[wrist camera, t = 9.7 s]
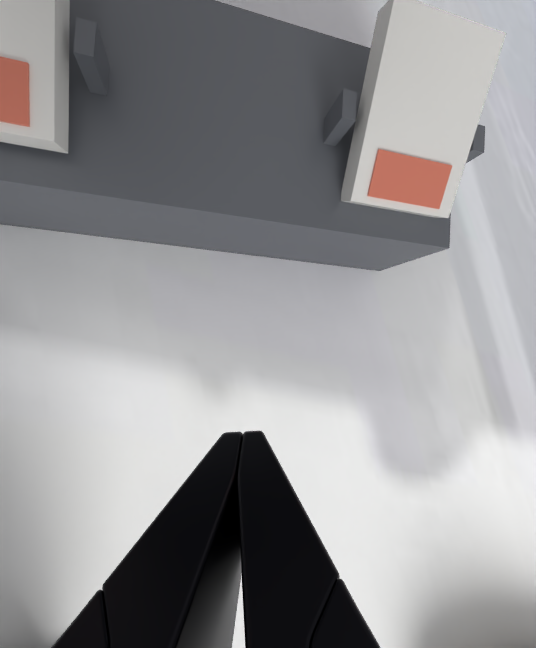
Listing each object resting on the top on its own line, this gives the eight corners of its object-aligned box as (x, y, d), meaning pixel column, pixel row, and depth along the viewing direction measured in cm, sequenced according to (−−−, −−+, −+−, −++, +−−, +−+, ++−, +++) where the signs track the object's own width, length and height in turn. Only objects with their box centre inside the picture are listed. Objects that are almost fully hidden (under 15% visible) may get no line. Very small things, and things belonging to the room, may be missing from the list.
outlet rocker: (431, 217, 16) (450, 218, 15) (339, 201, 15) (351, 200, 14) (481, 46, 14) (508, 31, 12) (378, 11, 12) (396, -9, 11)
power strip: (379, 270, 22) (481, 237, 14) (-19, 221, 16) (-200, 125, 9) (385, 138, 22) (487, 37, 15) (-1, 47, 17) (-160, -190, 9)
